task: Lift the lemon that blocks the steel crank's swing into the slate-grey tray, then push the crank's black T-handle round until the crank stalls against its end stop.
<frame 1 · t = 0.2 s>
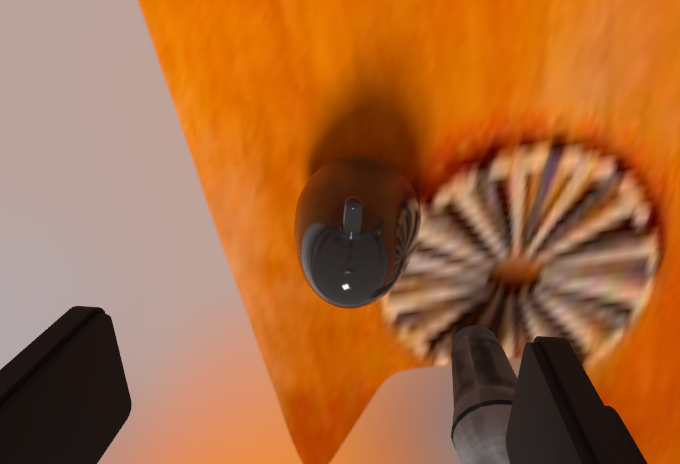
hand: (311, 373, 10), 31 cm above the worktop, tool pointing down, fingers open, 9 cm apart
beverage cup: (473, 342, 47), on the worktop
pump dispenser: (361, 198, 42), on the worktop
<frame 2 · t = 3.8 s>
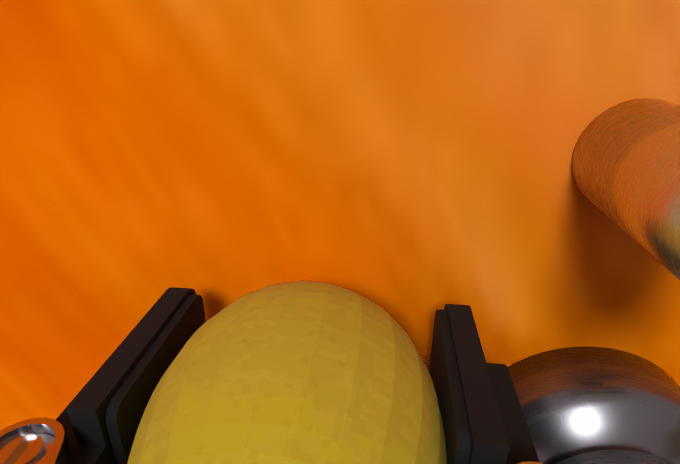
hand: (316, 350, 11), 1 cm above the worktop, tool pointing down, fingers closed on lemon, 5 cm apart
crank base: (572, 432, 13), on the worktop
lemon: (325, 314, 12), on the worktop, touching gripper
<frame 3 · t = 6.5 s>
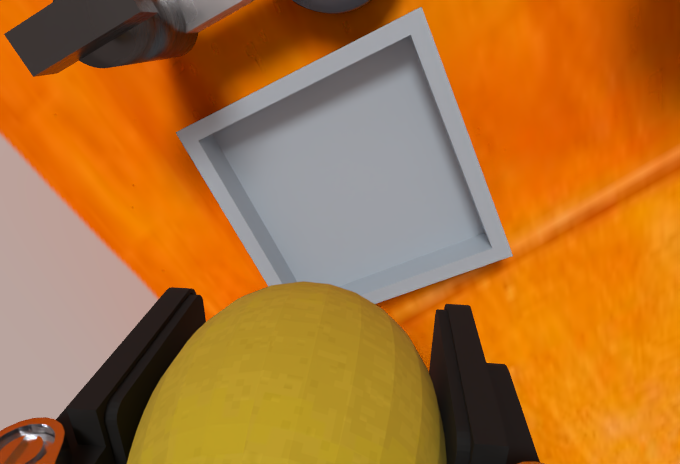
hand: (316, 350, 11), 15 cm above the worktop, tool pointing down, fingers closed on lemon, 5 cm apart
lemon: (325, 315, 12), point 14 cm above the worktop, touching gripper
tray: (351, 180, 25), on the worktop
when the fingers open (3 cm above the worktop, at t = 9.3 s): lemon drops 1 cm, resting on tray.
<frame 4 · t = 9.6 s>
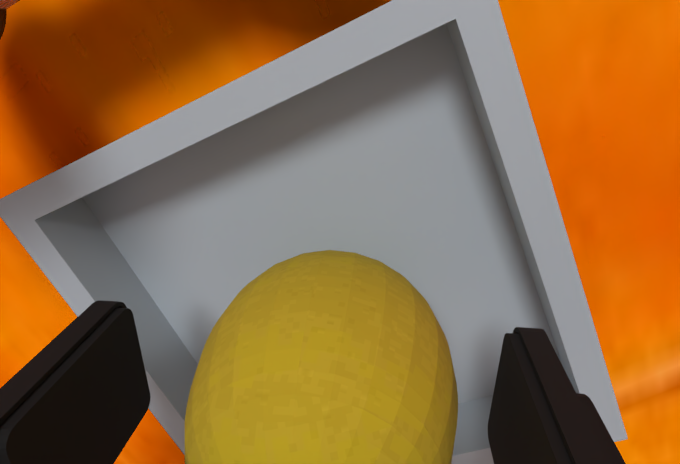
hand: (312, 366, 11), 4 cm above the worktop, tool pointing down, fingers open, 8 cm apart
lemon: (344, 287, 14), resting on tray
tray: (333, 278, 14), on the worktop
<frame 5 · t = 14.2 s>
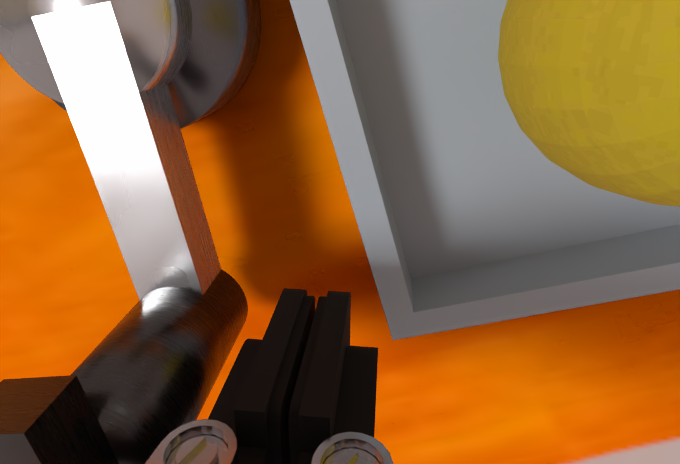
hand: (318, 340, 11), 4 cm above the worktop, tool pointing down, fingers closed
crank base: (155, 14, 13), on the worktop
lemon: (582, 31, 11), resting on tray
tray: (568, 47, 12), on the worktop
crank handle: (83, 231, 9), point 6 cm above the worktop, hinge at 82.2°, touching gripper
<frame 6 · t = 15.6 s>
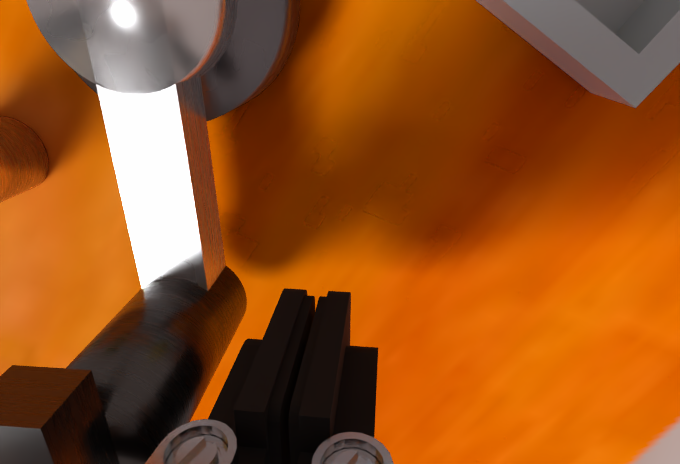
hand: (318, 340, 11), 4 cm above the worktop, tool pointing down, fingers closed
crank handle: (105, 220, 9), point 6 cm above the worktop, hinge at 35.0°, touching gripper
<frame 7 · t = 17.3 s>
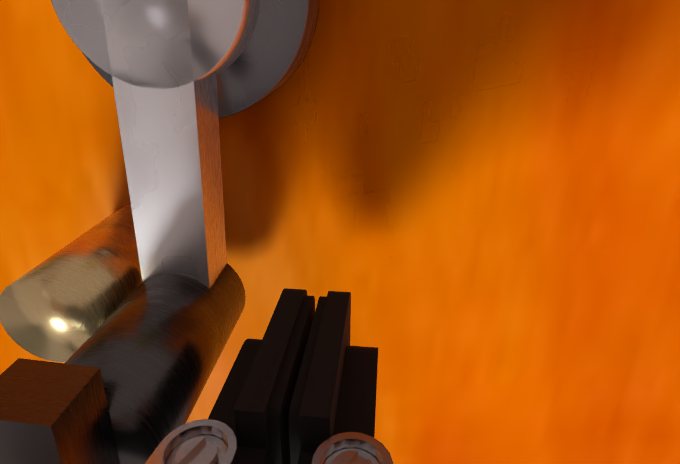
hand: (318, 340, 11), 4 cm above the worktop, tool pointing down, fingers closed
crank handle: (117, 215, 9), point 6 cm above the worktop, hinge at -1.9°, touching gripper
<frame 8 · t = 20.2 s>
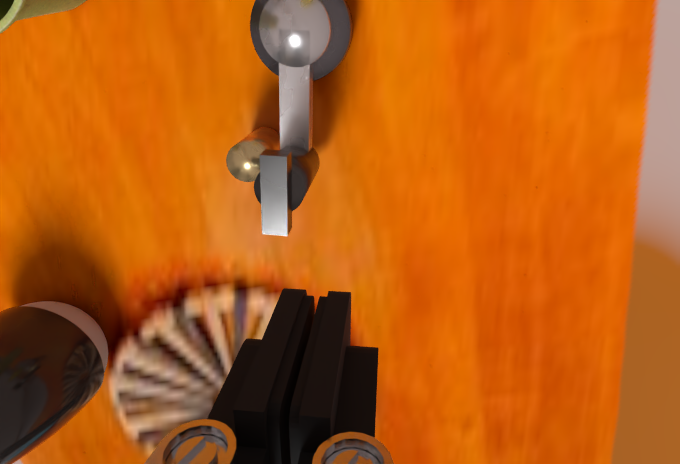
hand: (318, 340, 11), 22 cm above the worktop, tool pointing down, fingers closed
crank base: (305, 29, 29), on the worktop
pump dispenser: (73, 329, 41), on the worktop
crank handle: (287, 110, 25), point 6 cm above the worktop, hinge at -2.0°
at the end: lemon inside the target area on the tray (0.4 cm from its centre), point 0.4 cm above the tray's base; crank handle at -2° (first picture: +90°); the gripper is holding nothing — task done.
